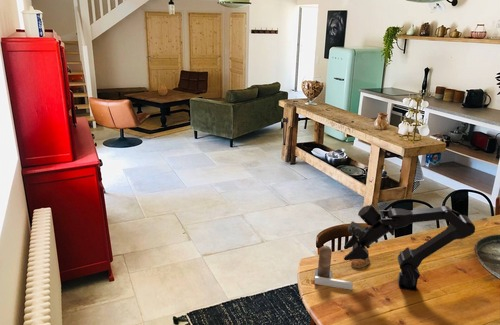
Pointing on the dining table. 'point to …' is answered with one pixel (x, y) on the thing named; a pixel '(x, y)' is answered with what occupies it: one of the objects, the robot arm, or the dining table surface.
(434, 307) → the dining table surface
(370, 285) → the dining table surface
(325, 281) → the silver flat bar
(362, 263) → the pastry
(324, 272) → the skittle
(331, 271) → the resting pad
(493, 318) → the dining table surface
